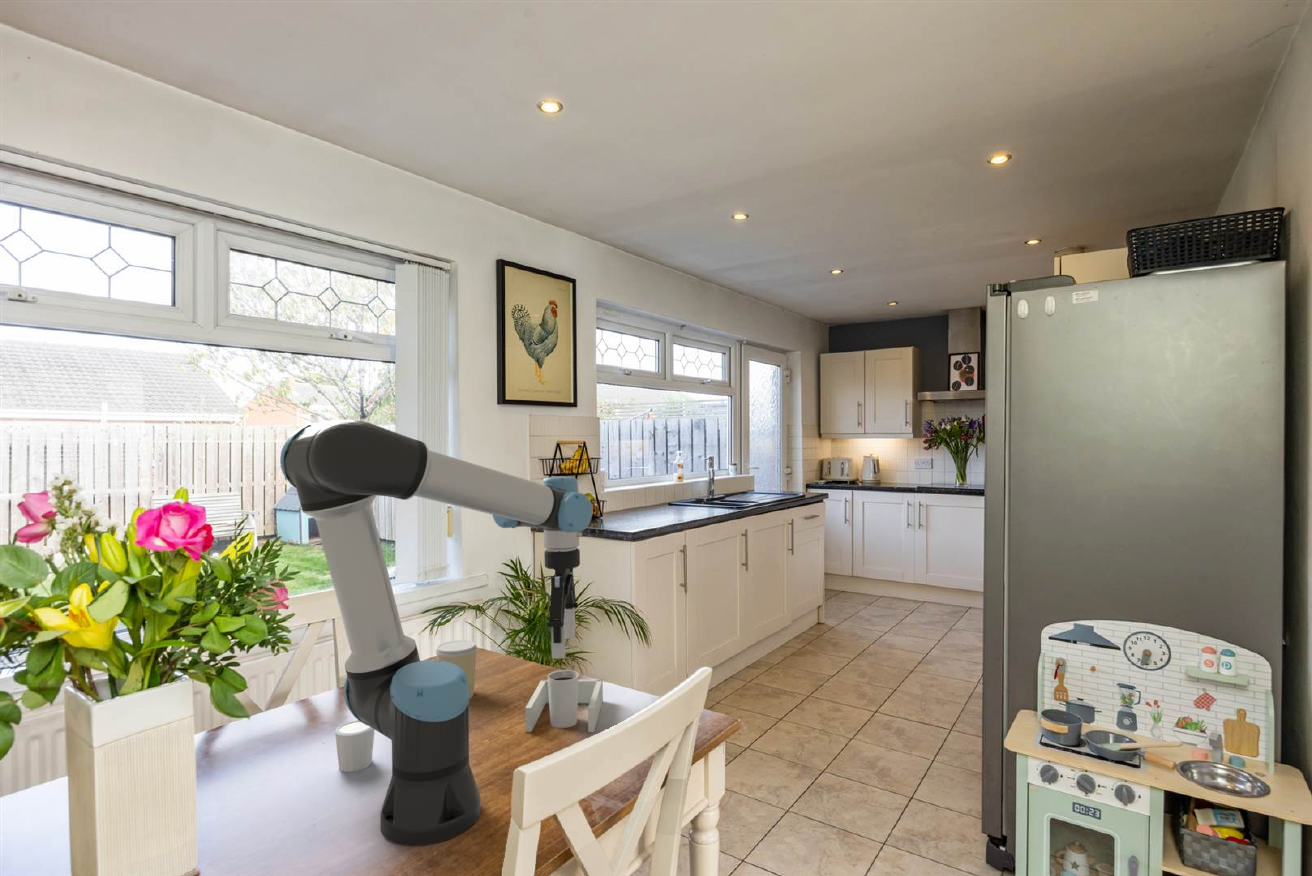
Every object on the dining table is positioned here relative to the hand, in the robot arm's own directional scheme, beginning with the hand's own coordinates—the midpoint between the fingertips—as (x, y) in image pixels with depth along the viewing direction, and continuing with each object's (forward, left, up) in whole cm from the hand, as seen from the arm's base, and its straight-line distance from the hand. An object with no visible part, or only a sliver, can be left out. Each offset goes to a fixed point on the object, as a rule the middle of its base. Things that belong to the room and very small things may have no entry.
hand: (564, 647), depth 144 cm
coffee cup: (-28, +15, -16) cm, 36 cm away
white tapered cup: (-36, -19, -16) cm, 44 cm away
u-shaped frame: (0, +3, -16) cm, 16 cm away
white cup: (0, 0, -16) cm, 16 cm away
